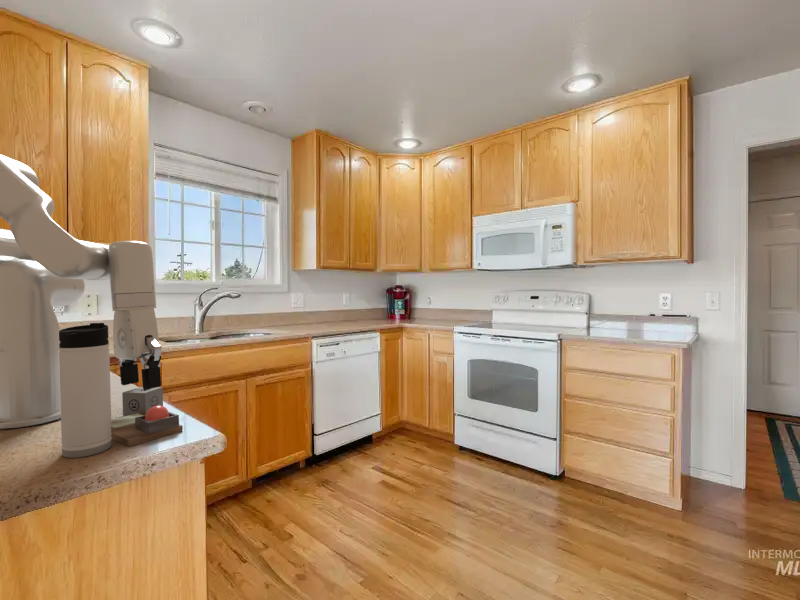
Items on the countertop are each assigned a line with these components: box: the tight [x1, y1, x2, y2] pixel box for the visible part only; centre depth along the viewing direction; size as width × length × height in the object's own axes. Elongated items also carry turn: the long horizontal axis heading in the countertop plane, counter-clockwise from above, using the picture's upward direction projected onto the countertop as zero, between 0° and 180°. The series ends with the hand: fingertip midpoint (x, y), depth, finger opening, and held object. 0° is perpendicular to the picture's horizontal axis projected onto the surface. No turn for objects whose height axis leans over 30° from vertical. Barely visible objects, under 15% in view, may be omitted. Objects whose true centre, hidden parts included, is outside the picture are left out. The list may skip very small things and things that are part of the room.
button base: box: [111, 411, 184, 447], centre depth 74 cm, size 15×9×3 cm, turn 56°
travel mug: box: [59, 322, 113, 459], centre depth 64 cm, size 6×7×20 cm
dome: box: [145, 405, 170, 422], centre depth 72 cm, size 4×4×4 cm
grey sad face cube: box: [121, 386, 164, 417], centre depth 84 cm, size 5×5×5 cm
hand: (140, 385), depth 83 cm, fingers open, 9 cm apart
